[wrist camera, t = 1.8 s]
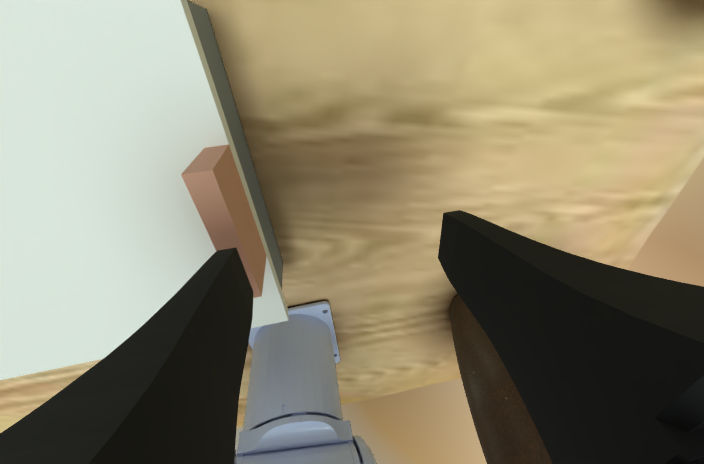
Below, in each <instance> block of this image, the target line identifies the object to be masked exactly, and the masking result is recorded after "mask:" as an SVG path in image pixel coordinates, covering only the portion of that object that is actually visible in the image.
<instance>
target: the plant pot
mask: <svg viewBox="0 0 704 464" xmlns="http://www.w3.org/2000/svg"><path fill="white" fill-rule="evenodd" d="M450 320H451V327H452V334H453V340H454V345H455V351H456V356H457V360H458V365H459V369H460V374H461V378H462V381H463V385H464V389H465V393H466V397H467V400H468V404H469V407H470V411H471V414H472V418H473V421H474V425H475V428H476V431H477V434H478V437H479V441H480V444H481V447H482V450H483V453H484V456H485V459H486V462H487V464H553V463H552V461H551V459H550V457H549V454H548V452H547V450H546V448H545V445H544V443H543V441H542V439H541V437H540V435H539V432H538V430H537V428H536V426H535V424H534V422H533V420H532V418H531V416H530V414H529V412H528V410H527V408H526V406H525V404H524V402H523V400H522V398H521V396H520V394H519V392H518V390H517V388H516V386H515V384H514V382H513V381H512V379H511V377H510V375H509V373H508V371H507V369H506V367H505V366H504V364H503V362H502V360H501V358H500V357H499V355H498V353H497V351H496V349H495V348H494V346H493V344H492V342H491V341H490V339H489V338H488V336H487V335H486V333H485V331H484V330H483V329H482V327H481V326H480V324H479V323H478V321H477V320H476V319H475V317H474V316H473V314H472V313H471V311H470V310H469V309H468V307H467V306H466V304H465V303H464V301H463V300H462V298H461V297H460V296H459V294H458V295H457V296H456V297H455V299H454V300H453V302H452V304H451V307H450Z"/></svg>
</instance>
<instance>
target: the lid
mask: <svg viewBox="0 0 704 464" xmlns="http://www.w3.org/2000/svg"><path fill="white" fill-rule="evenodd" d="M230 248H237V251H238V253H239V256H240V258H241V261H242V263H243V266H244V269H245V271H246V274H247V276H248V279H249V282H250V284H251V287H252V289H253V316H252V324H251V328H255V327H259V326H264V325H269V324H274V323H279V322H284V321H288V308H287V305H286V302H285V299H284V296H283V293H282V290H281V287H280V284H279V280H278V277H277V274H276V271H275V268H274V265H273V262H272V259H271V256H270V253H269V250H268V247H267V244H266V241H265V238H264V235H263V232H262V228H261V225H260V222H259V219H258V216H257V213H256V210H255V207H254V204H253V201H252V198H251V195H250V192H249V189H248V186H247V183H246V180H245V177H244V173H243V170H242V167H241V164H240V161H239V158H238V155H237V152H236V149H235V146H234V143H233V140H232V137H231V134H230V131H229V128H228V125H227V121H226V118H225V115H224V112H223V109H222V106H221V103H220V100H219V97H218V94H217V91H216V88H215V85H214V82H213V79H212V76H211V73H210V70H209V66H208V63H207V60H206V57H205V54H204V51H203V48H202V45H201V42H200V39H199V36H198V33H197V30H196V27H195V24H194V21H193V18H192V14H191V11H190V8H189V5H188V2H187V0H0V380H3V379H8V378H13V377H18V376H22V375H27V374H32V373H37V372H42V371H47V370H52V369H56V368H61V367H66V366H71V365H76V364H81V363H85V362H90V361H95V360H100V359H104V358H105V357H106V356H107V355H109V354H110V353H111V352H112V351H113V350H115V349H116V348H117V347H118V346H119V345H121V344H122V343H123V342H124V341H125V340H127V339H128V338H129V337H130V336H131V335H132V334H133V333H135V332H136V331H137V330H138V329H139V328H140V327H141V326H142V325H144V324H145V323H146V322H147V321H148V320H149V319H150V318H151V317H152V316H153V315H154V314H155V313H156V312H157V311H158V310H159V309H160V308H161V307H162V306H163V305H164V304H166V303H167V302H168V301H169V300H170V299H171V298H172V297H173V296H174V295H175V294H176V293H177V292H178V291H179V290H180V289H181V288H182V286H183V285H184V284H185V283H186V282H187V281H188V280H189V279H190V278H191V277H192V276H193V275H194V274H195V273H196V272H197V271H198V270H199V269H200V268H201V266H202V265H203V264H204V263H205V262H206V261H207V260H208V259H209V258H210V257H211V256H212V255H213V254H214V253H215V252H216V251H218V250H224V249H230Z"/></svg>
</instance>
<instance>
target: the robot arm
mask: <svg viewBox="0 0 704 464" xmlns="http://www.w3.org/2000/svg"><path fill="white" fill-rule="evenodd" d="M438 259H439V261H440V263H441V265H442V267H443V269H444V271H445V273H446V275H447V277H448V279H449V281H450V282H451V284H452V285H453V287H454V288H455V290H456V291H457V293H458V294H459V296H460V297H461V298H462V300H463V301H464V303H465V304H466V306H467V307H468V309H469V310H470V311H471V313H472V314H473V316H474V317H475V319H476V320H477V321H478V323H479V324H480V326H481V327H482V329H483V330H484V331H485V333H486V335H487V336H488V338H489V339H490V341H491V342H492V344H493V346H494V348H495V349H496V351H497V353H498V355H499V357H500V358H501V360H502V362H503V364H504V366H505V367H506V369H507V371H508V373H509V375H510V377H511V379H512V381H513V382H514V384H515V386H516V388H517V390H518V392H519V394H520V396H521V398H522V400H523V402H524V404H525V406H526V408H527V410H528V412H529V414H530V416H531V418H532V420H533V422H534V424H535V426H536V428H537V430H538V432H539V435H540V437H541V439H542V441H543V443H544V445H545V448H546V450H547V452H548V454H549V457H550V459H551V461H552V463H553V464H704V287H702V286H696V285H691V284H686V283H681V282H676V281H672V280H667V279H663V278H658V277H653V276H649V275H645V274H641V273H637V272H633V271H629V270H625V269H621V268H617V267H613V266H610V265H606V264H602V263H599V262H596V261H592V260H589V259H586V258H583V257H579V256H576V255H573V254H570V253H567V252H564V251H561V250H558V249H555V248H553V247H550V246H547V245H545V244H542V243H539V242H537V241H534V240H531V239H529V238H526V237H524V236H521V235H519V234H517V233H514V232H512V231H509V230H507V229H505V228H502V227H500V226H498V225H495V224H493V223H491V222H488V221H486V220H484V219H481V218H479V217H477V216H474V215H472V214H469V213H466V212H463V211H460V210H459V211H453V212H447V213H443V221H442V229H441V238H440V246H439V254H438ZM252 316H253V289H252V287H251V284H250V282H249V279H248V276H247V274H246V271H245V269H244V266H243V263H242V261H241V258H240V256H239V253H238V251H237V248H230V249H224V250H218V251H216V252H215V253H214V254H213V255H212V256H211V257H210V258H209V259H208V260H207V261H206V262H205V263H204V264H203V265H202V266H201V268H200V269H199V270H198V271H197V272H196V273H195V274H194V275H193V276H192V277H191V278H190V279H189V280H188V281H187V282H186V283H185V284H184V285H183V286H182V288H181V289H180V290H179V291H178V292H177V293H176V294H175V295H174V296H173V297H172V298H171V299H170V300H169V301H168V302H167V303H166V304H164V305H163V306H162V307H161V308H160V309H159V310H158V311H157V312H156V313H155V314H154V315H153V316H152V317H151V318H150V319H149V320H148V321H147V322H146V323H145V324H144V325H142V326H141V327H140V328H139V329H138V330H137V331H136V332H135V333H133V334H132V335H131V336H130V337H129V338H128V339H127V340H125V341H124V342H123V343H122V344H121V345H119V346H118V347H117V348H116V349H115V350H113V351H112V352H111V353H110V354H109V355H107V356H106V357H105V358H104V359H102V360H101V361H100V362H99V363H97V364H96V365H95V366H93V367H92V368H91V369H89V370H88V371H87V372H85V373H84V374H83V375H81V376H80V377H79V378H77V379H76V380H75V381H73V382H72V383H71V384H69V385H68V386H67V387H65V388H64V389H63V390H61V391H60V392H59V393H57V394H56V395H55V396H53V397H52V398H51V399H49V400H48V401H47V402H45V403H44V404H42V405H41V406H40V407H38V408H37V409H35V410H34V411H32V412H31V413H30V414H28V415H27V416H25V417H24V418H22V419H21V420H20V421H18V422H17V423H15V424H14V425H12V426H11V427H9V428H8V429H6V430H5V431H3V432H2V433H0V464H377V463H376V460H375V458H374V455H373V453H372V451H371V449H370V447H369V446H368V445H367V444H366V443H365V441H364V440H363V439H362V437H360V436H358V435H355V436H352V430H351V424H350V421H349V420H347V421H343V418H342V411H341V403H340V396H339V389H338V382H337V374H336V367H335V364H336V363H338V362H340V355H339V350H338V345H337V340H336V335H335V330H334V325H333V320H332V315H331V310H330V305H329V302H327V301H322V302H317V303H312V304H307V305H302V306H297V307H292V308H288V321H284V322H279V323H274V324H269V325H264V326H259V327H255V328H251V324H252ZM248 342H249V344H250V346H251V348H252V350H253V355H252V363H251V371H250V379H249V386H248V394H247V402H246V410H245V418H244V426H243V431H241V432H240V435H239V442H238V450H237V455H236V450H235V438H236V425H237V412H238V400H239V393H240V386H241V380H242V375H243V369H244V364H245V358H246V353H247V347H248Z"/></svg>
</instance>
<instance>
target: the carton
mask: <svg viewBox="0 0 704 464" xmlns="http://www.w3.org/2000/svg"><path fill="white" fill-rule="evenodd" d="M187 2H188V5H189V8H190V11H191V14H192V18H193V21H194V24H195V27H196V30H197V33H198V36H199V39H200V42H201V45H202V48H203V51H204V54H205V57H206V60H207V63H208V66H209V70H210V73H211V76H212V79H213V82H214V85H215V88H216V91H217V94H218V97H219V100H220V103H221V106H222V109H223V112H224V115H225V118H226V121H227V125H228V128H229V131H230V134H231V137H232V140H233V143H234V146H235V149H236V152H237V155H238V158H239V161H240V164H241V167H242V170H243V173H244V177H245V180H246V183H247V186H248V189H249V192H250V195H251V198H252V201H253V204H254V207H255V210H256V213H257V216H258V219H259V222H260V225H261V228H262V232H263V235H264V238H265V241H266V244H267V247H268V250H269V253H270V256H271V259H272V262H273V265H274V268H275V271H276V274H277V277H278V280H279V284H280V287H281V290H282V271H283V262H282V258H281V255H280V252H279V248H278V245H277V242H276V238H275V235H274V232H273V228H272V225H271V222H270V218H269V215H268V212H267V208H266V205H265V202H264V198H263V195H262V192H261V188H260V185H259V182H258V178H257V175H256V172H255V168H254V165H253V162H252V158H251V155H250V152H249V148H248V145H247V142H246V138H245V135H244V132H243V128H242V125H241V122H240V118H239V115H238V112H237V108H236V105H235V102H234V98H233V95H232V92H231V88H230V85H229V82H228V78H227V75H226V72H225V68H224V65H223V62H222V58H221V55H220V52H219V48H218V45H217V42H216V38H215V35H214V32H213V28H212V25H211V22H210V18H209V15H208V12H207V9H205V8H203V7H201V6H199V5H197V4H194V3H192V2H190V1H188V0H187Z"/></svg>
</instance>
